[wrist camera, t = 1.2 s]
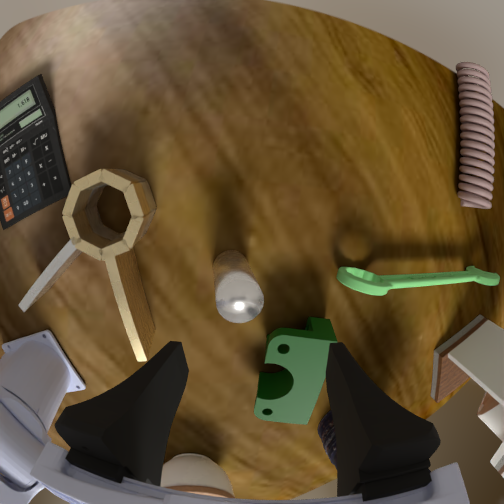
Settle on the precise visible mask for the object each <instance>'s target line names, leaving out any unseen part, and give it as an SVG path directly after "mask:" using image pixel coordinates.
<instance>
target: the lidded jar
mask: <svg viewBox="0 0 504 504" xmlns="http://www.w3.org/2000/svg"><path fill="white" fill-rule="evenodd" d="M160 487H164V488H168V489H173V490H178V491H183V492H189V493H195V494H201V495H208V496H216V497H225V498H235V497H234V492H233V488H232V485H231V482H230V480H229V478H228V475H227V474H226V472H225V471H224V470H223V469H222V468H221V467H220V466H219V465H218V464H216V463H215V462H213V461H212V460H211V459H210V458H208V457H206V456H204V455H200V454H194V453H185V454H179V455H176V456H174V457H173V458H172V459H171V460H169V461H168V462H166V463H165V464H164V465H163V469H162V476H161V486H160Z"/></svg>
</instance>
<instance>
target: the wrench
mask: <svg viewBox="0 0 504 504" xmlns="http://www.w3.org/2000/svg"><path fill="white" fill-rule="evenodd" d="M337 279H338V280H339V281H340V282H341V283H342V284H344V285H346V286H348V287H350V288H352V289H354V290H357V291H359V292H363V293H366V294H370V295H378V296H380V295H385V294H387V291H388V290H389V289H394V288H407V287H419V286H430V285H441V284H451V283H460V282H469V281H475V282H478V283H481V284H484V285H490V286H495V285H498V284H499V280H500V276H499V275H498V274H497V273H495V274H494V273H490V272H485V271H482V270H480V269H477V268H475V267H474V266H468V267H467V268H466V271H459V272H442V273H424V274H404V275H381V276H378V275H376V274H373V273H371V272H368V271H365V270H362V269H358V268H353V267H340V268H339V270H338V273H337Z"/></svg>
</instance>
